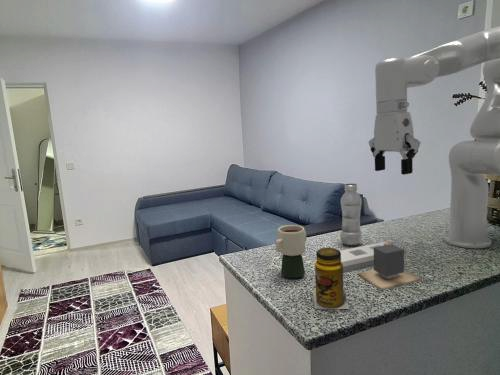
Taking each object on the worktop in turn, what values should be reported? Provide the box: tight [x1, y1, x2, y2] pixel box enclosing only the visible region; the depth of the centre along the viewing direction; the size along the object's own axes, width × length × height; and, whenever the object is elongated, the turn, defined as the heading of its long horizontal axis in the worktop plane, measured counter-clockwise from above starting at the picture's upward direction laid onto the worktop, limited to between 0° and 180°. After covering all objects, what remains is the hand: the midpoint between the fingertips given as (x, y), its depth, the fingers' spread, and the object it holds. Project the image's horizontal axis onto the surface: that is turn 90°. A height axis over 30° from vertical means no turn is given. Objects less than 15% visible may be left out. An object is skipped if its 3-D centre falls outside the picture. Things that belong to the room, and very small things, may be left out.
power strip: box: [339, 241, 390, 273], centre depth 94 cm, size 20×7×4 cm, turn 109°
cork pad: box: [357, 269, 422, 291], centre depth 83 cm, size 12×9×1 cm
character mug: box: [275, 224, 307, 279], centre depth 87 cm, size 11×7×13 cm, turn 128°
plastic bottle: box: [340, 183, 363, 246], centre depth 106 cm, size 6×7×20 cm
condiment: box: [312, 247, 350, 310], centre depth 74 cm, size 7×8×12 cm
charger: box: [373, 243, 405, 279], centre depth 83 cm, size 6×4×7 cm
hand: (392, 171), depth 90 cm, fingers open, 9 cm apart
